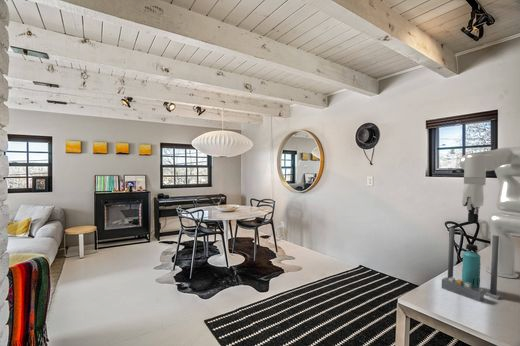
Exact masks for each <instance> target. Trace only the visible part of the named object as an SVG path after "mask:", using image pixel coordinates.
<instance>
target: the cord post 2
mask: <svg viewBox="0 0 520 346" xmlns="http://www.w3.org/2000/svg"><path fill="white" fill-rule="evenodd" d="M498 246H499V236H496V235H493V236H492V260H491V273H490V285H489V286H490V289H489V291H487V292H485V293H484V296H486V297H488V296H489V297H488V298H490V299H491V298H492V299H494V300H499V299H501V298H502V294H500V293H497V290H498V289H497V288H498V276H497V270H498Z"/></svg>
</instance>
